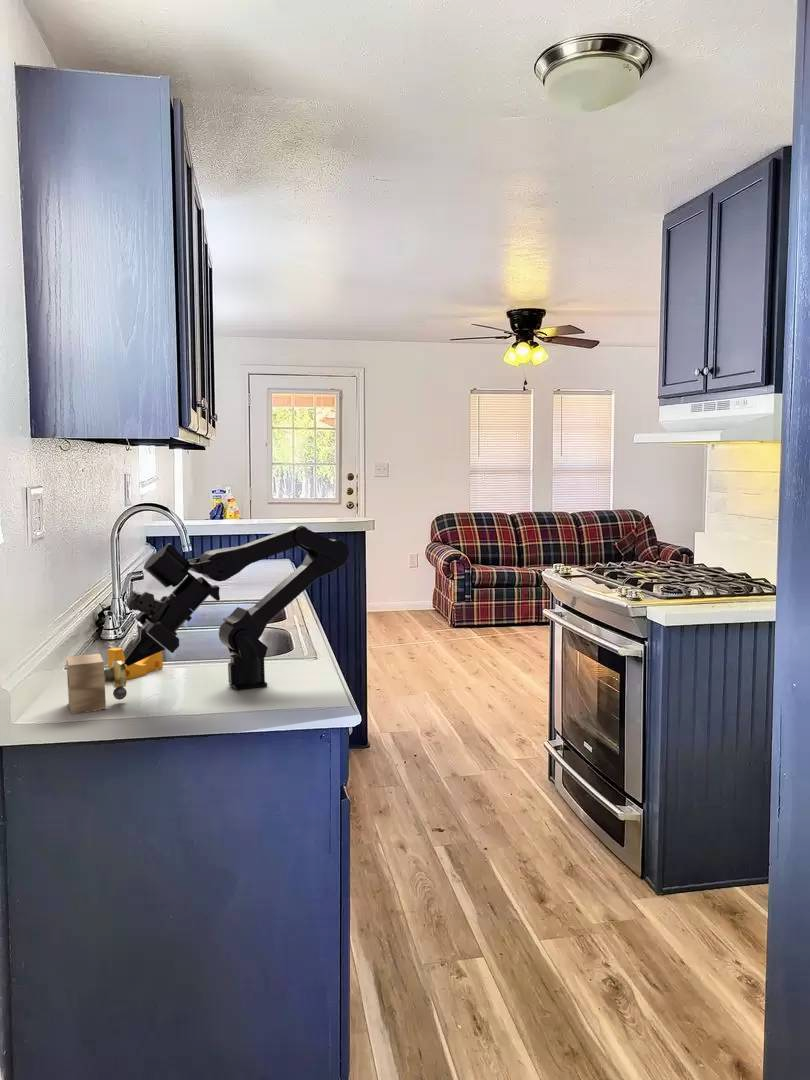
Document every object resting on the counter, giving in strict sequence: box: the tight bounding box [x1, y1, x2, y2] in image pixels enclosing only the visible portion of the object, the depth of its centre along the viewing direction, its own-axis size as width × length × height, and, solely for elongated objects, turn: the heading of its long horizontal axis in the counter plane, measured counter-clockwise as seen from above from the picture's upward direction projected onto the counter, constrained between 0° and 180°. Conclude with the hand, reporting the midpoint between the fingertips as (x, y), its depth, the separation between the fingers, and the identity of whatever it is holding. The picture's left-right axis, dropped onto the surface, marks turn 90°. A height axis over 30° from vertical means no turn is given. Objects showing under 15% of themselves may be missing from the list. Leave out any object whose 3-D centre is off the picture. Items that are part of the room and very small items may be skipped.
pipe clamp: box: [107, 647, 164, 680], centre depth 182 cm, size 12×4×6 cm, turn 144°
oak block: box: [66, 653, 107, 715], centre depth 157 cm, size 6×8×9 cm
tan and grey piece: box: [104, 660, 128, 701], centre depth 158 cm, size 10×5×7 cm, turn 115°
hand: (125, 664), depth 159 cm, fingers closed, pressing on tan and grey piece
